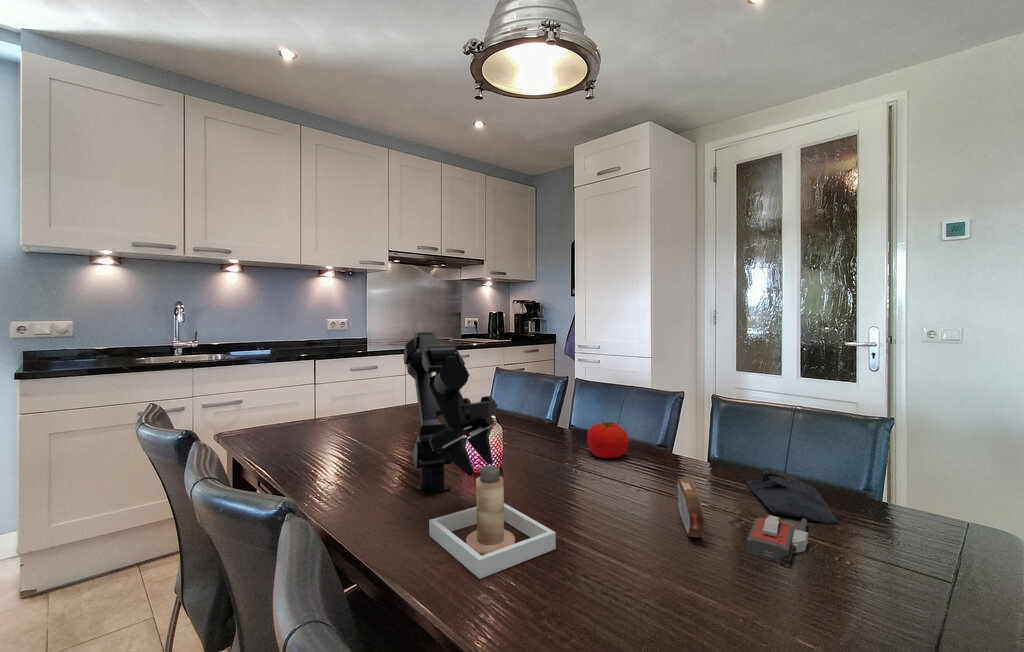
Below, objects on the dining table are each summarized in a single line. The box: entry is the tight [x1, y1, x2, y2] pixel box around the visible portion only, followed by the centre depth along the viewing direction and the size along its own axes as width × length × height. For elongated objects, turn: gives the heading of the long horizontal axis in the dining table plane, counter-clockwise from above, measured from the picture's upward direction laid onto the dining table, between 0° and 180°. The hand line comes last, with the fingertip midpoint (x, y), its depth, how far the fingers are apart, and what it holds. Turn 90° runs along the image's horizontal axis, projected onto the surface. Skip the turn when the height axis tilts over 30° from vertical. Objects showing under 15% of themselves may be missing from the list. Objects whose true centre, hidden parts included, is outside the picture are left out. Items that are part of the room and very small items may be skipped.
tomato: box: [586, 419, 630, 459], centre depth 137 cm, size 11×13×10 cm
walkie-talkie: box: [745, 514, 809, 565], centre depth 86 cm, size 9×4×20 cm
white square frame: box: [428, 502, 557, 580], centre depth 86 cm, size 18×16×3 cm
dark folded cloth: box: [745, 467, 840, 525], centre depth 104 cm, size 15×22×5 cm
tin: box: [676, 477, 705, 539], centre depth 92 cm, size 15×3×8 cm, turn 168°
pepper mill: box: [475, 465, 505, 545], centre depth 86 cm, size 5×5×13 cm
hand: (481, 469), depth 95 cm, fingers open, 9 cm apart
